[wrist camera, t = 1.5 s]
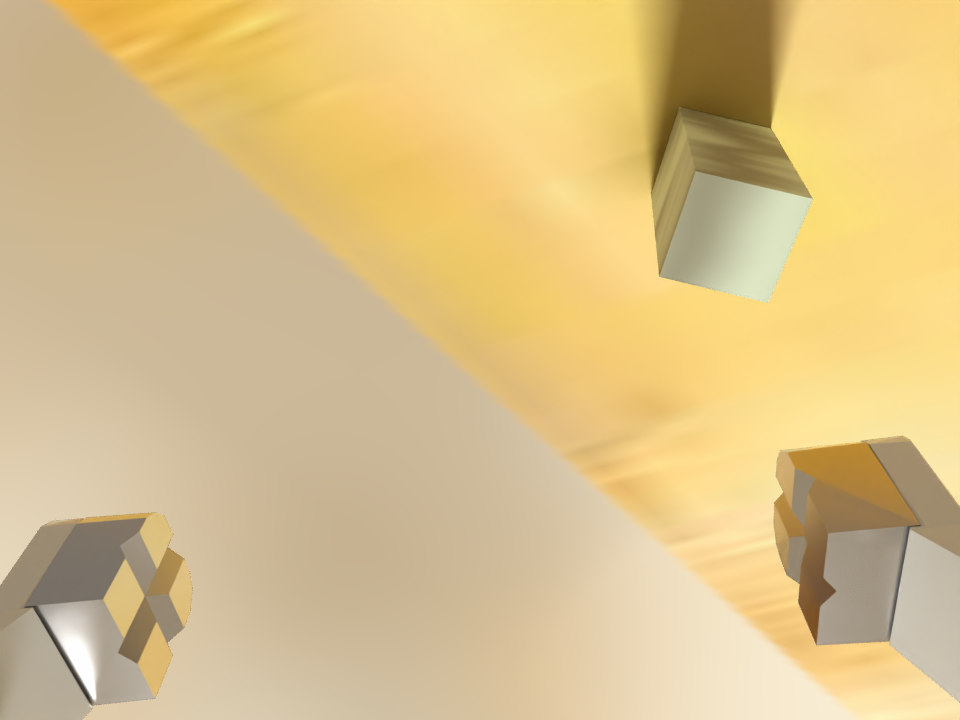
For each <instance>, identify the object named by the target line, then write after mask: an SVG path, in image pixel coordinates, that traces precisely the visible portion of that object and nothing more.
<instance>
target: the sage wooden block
mask: <svg viewBox="0 0 960 720" xmlns="http://www.w3.org/2000/svg"><path fill="white" fill-rule="evenodd" d="M651 197H652V207H653V217H654V228H655V238H656V248H657V258H658V268H659V277H662V278H667V279H671V280H675V281H679V282H683V283H687V284H692V285H696V286H700V287H704V288H708V289H712V290H717V291H721V292H725V293H729V294H733V295H737V296H742V297H746V298H750V299H754V300H758V301H762V302H767V303H768V302H769V300H770V297H771V295H772V293H773V290H774V288H775V286H776V283H777V281H778V279H779V277H780V274H781V272H782V270H783V267H784V265H785V263H786V260H787V258H788V256H789V253H790V251H791V249H792V246H793V244H794V242H795V239H796V237H797V235H798V232H799V230H800V228H801V225H802V223H803V221H804V218H805V216H806V214H807V211H808V209H809V207H810V205H811V202H812V200H813V198H812V197H811V195H810V193H809V192H808V190H807V188H806V186H805V185H804V183H803V181H802V180H801V178H800V176H799V175H798V173H797V171H796V170H795V168H794V166H793V164H792V163H791V161H790V159H789V158H788V156H787V154H786V153H785V151H784V149H783V148H782V146H781V144H780V142H779V141H778V139H777V137H776V136H775V134H774V132H773V131H772V129H771V128H768V127H764V126H759V125H755V124H751V123H747V122H742V121H738V120H734V119H730V118H725V117H721V116H717V115H713V114H708V113H704V112H700V111H696V110H691V109H687V108H683V107H679V109H678V112H677V115H676V118H675V121H674V125H673V128H672V131H671V134H670V137H669V140H668V143H667V147H666V150H665V153H664V156H663V159H662V162H661V165H660V168H659V172H658V175H657V178H656V181H655V184H654V187H653V190H652V194H651Z"/></svg>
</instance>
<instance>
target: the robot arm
mask: <svg viewBox="0 0 960 720" xmlns="http://www.w3.org/2000/svg"><path fill="white" fill-rule="evenodd" d="M776 477H777V479H778V482H779V484H780V486H781V488H782V490H783V493H782V495H781V496H780V497H779V498H778V499H777V500H776V501H775V502H774V530H775V538H776V545H777V548H778V552H779V556H780V559H781V562H782V564H783V567H784V569H785V572H786V574H787V576H789V577H790V578H792V579H793V580H795V581H796V582H798V583H799V584H800V585H799V598H798V603H799V606H800V608H801V610H802V613H803V615H804V617H805V620H806V622H807V624H808V627H809V629H810V631H811V634H812V636H813V638H814V641H815V643H816V645H832V644H850V643H868V642H887V641H890V643H889V645H890V646H891V647H893V648H894V649H895V650H896V651H897V652H899V653H900V654H901V655H902V656H904V657H905V658H906V659H907V660H908V661H910V662H911V663H912V664H913V665H915V666H916V667H917V668H918V669H919V670H921V671H922V672H923V673H924V674H926V675H927V676H928V677H929V678H930V679H932V680H933V681H934V682H935V683H936V684H938V685H939V686H940V687H941V688H943V689H944V690H945V691H946V692H947V693H949V694H950V695H951V696H952V697H954V698H955V699H956V700H957V701H958V702H960V506H959V505H958V503H957V502H956V500H955V499H954V498H953V496H952V495H951V494H950V492H949V491H948V490H947V488H946V487H945V486H944V484H943V483H942V482H941V480H940V479H939V478H938V476H937V475H936V474H935V472H934V471H933V470H932V468H931V467H930V466H929V464H928V463H927V462H926V460H925V459H924V458H923V456H922V455H921V454H920V452H919V451H918V450H917V448H916V447H915V446H914V444H913V443H912V441H911V440H910V439H908V438H906V437H904V436H897V437H888V438H880V439H872V440H864V441H861V442H856V443H846V444H837V445H827V446H818V447H808V448H799V449H789V450H780V452H779V455H778V458H777V467H776ZM172 536H173V532H172V530H171V528H170V526H169V524H168V522H167V520H166V518H165V516H163V515H161V514H158V513H155V512H153V513H140V514H127V515H113V516H100V517H87V518H85V519H68V520H56V521H51V522H49V523H47V524H45V525H43V526H42V527H40V529H39V530H38V532H37V533H36V535H35V536H34V537H33V539H32V540H31V542H30V543H29V545H28V546H27V548H26V549H25V551H24V552H23V553H22V555H21V556H20V558H19V559H18V561H17V562H16V564H15V565H14V567H13V568H12V569H11V571H10V572H9V574H8V575H7V577H6V578H5V580H4V581H3V583H2V584H1V585H0V720H82V719H83V718H84V717H85V716H86V715H87V714H88V713H89V712H90V711H91V710H92V706H93V705H102V704H111V703H120V702H129V701H138V700H147V699H155V698H156V696H157V694H158V691H159V688H160V686H161V684H162V681H163V679H164V676H165V674H166V672H167V669H168V667H169V664H170V661H171V659H172V656H173V655H172V652H171V650H170V648H169V646H168V642H169V641H170V640H171V639H172V638H173V637H174V636H176V635H177V634H178V633H179V632H180V631H181V630H182V629H183V628H184V627H185V624H186V622H187V619H188V616H189V614H190V611H191V602H192V591H193V587H192V582H191V576H190V571H189V569H188V567H187V564H186V562H185V559H184V558H182V557H181V556H180V555H178V554H177V553H175V552H174V551H172V550H171V549H170V548H168V546H169V543H170V541H171V539H172Z"/></svg>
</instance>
